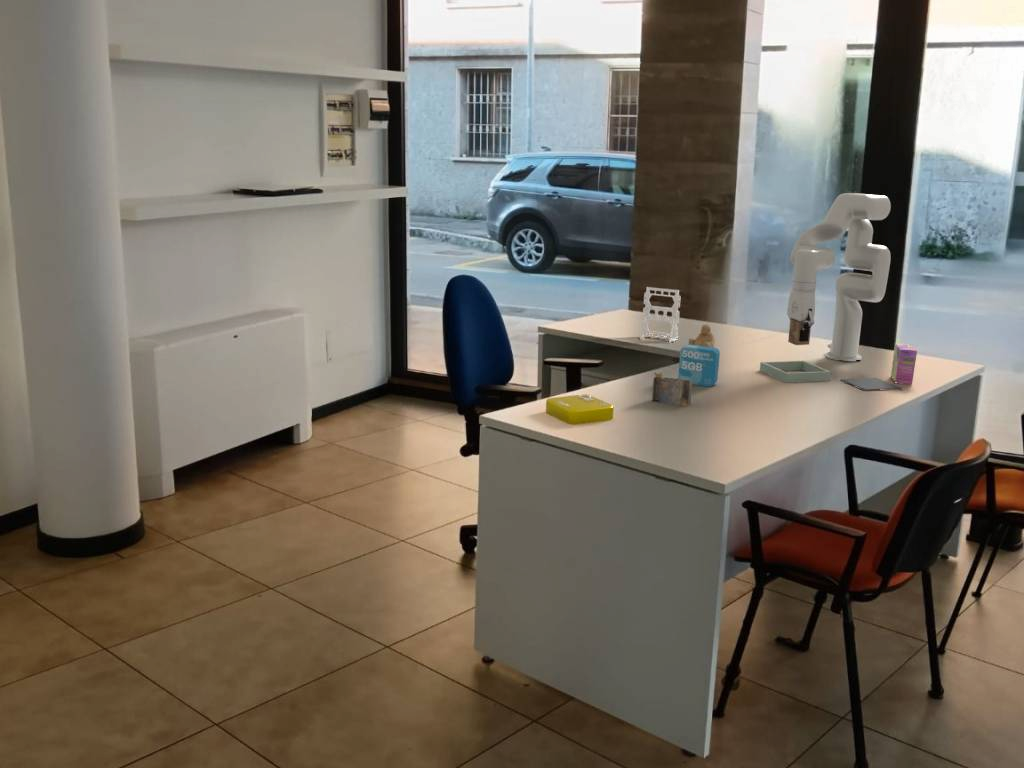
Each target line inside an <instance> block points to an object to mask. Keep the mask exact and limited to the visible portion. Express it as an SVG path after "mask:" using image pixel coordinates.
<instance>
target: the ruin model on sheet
mask: <svg viewBox="0 0 1024 768" xmlns="http://www.w3.org/2000/svg"><path fill="white" fill-rule="evenodd" d="M652 381H653V382H652V391H651V392H652V394H651V395H652V396H651V402H654V401H658V403H662V404H671V405H679V406H686V407H689V406H690V405H692V394H693V393H692V391H693V384H692V381H690V380H682V379H678V378H673V377H663V373H662V372H654V377H653V380H652Z"/></svg>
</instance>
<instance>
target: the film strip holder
mask: <svg viewBox="0 0 1024 768" xmlns="http://www.w3.org/2000/svg"><path fill="white" fill-rule="evenodd" d="M651 291H654V293H651ZM657 292H660V294H659V293H657ZM664 292H666V293H668V294H664ZM671 293H674V295H671ZM643 294H644V295H643V305H644V306H645V307H643V309H642V320H643V322H642V323H641V324H642V326H641V333H640V336H641V337H643V336H644V335H647V334H648V333H650V334H652V336H653V334H658V336H655V337H660V334H661V335H663V336H664V337H662V338H666V337H667V335H668V336H670V338H668V339H669V340H668V341H669V342H671V341H675V340H677V341H678V339H676V338H678V337H679V336H678V335H679V326H677V324H679V321H680V311H679V310H678V309H679V308H681V299H682V298H681V296H682V295H680V290H679V289H671V288H659V287H652V286H651V287H650V286H646V291H645V292H644V293H643ZM652 296H659V297H660V296H661V297H669V298H672V300H673V304H672V306H671V307H667V306H659V305H657V306H656V305H652V304H651V302H650V299H651V297H652ZM652 310H653V311H654V316H652V315H651V314H650V311H652ZM659 312H663V316H662V317H661V316H659ZM668 312H670V313H671V318H670V317H668V316H667V314H668ZM650 321H654V322H664V323H670V325H671V328H670V332H662V331H655V330H653V331H652V330H650V329H649V326H648V325H649V323H650ZM649 336H650V335H649ZM671 337H672V338H671Z"/></svg>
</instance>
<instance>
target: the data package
mask: <svg viewBox="0 0 1024 768" xmlns="http://www.w3.org/2000/svg"><path fill="white" fill-rule="evenodd" d="M720 355H721V352H720V350H719V349H718V348H716V347H714V348H711V347H703V346H695V345H688V344H685V345H684V346H683V347H681V349H680V350H679V362H678V364H679V365H678V374H677V375H678V377H677V379H682V380H690V381H692V385H696V386H704V387H708V388H709V387H712V386H714V385H715V384H716V383H717V382H718V381H719V380H718V379H719V378H718V377H719V368H720Z"/></svg>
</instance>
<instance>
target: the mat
mask: <svg viewBox="0 0 1024 768" xmlns="http://www.w3.org/2000/svg"><path fill="white" fill-rule="evenodd" d="M839 380H841V382H842V381H844V382H843V383H845V382H846V383H845V384H847V383H849V384H848V385H850V384H852V385H854V386H857V387H859V388H861V389H860V390H862V389H864V390H876V391H881V390H880V389H898V390H903V388H902V387H901V386H898V385H897V384H896V385H895V384H894V383H892V382H888V381H886V380H883V379H880V378H879V377H862V378H861V377H859V378H840V379H839ZM852 385H851V386H852ZM854 386H853V387H854ZM857 387H856V388H857ZM859 388H858V389H859ZM864 390H863V391H864Z"/></svg>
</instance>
